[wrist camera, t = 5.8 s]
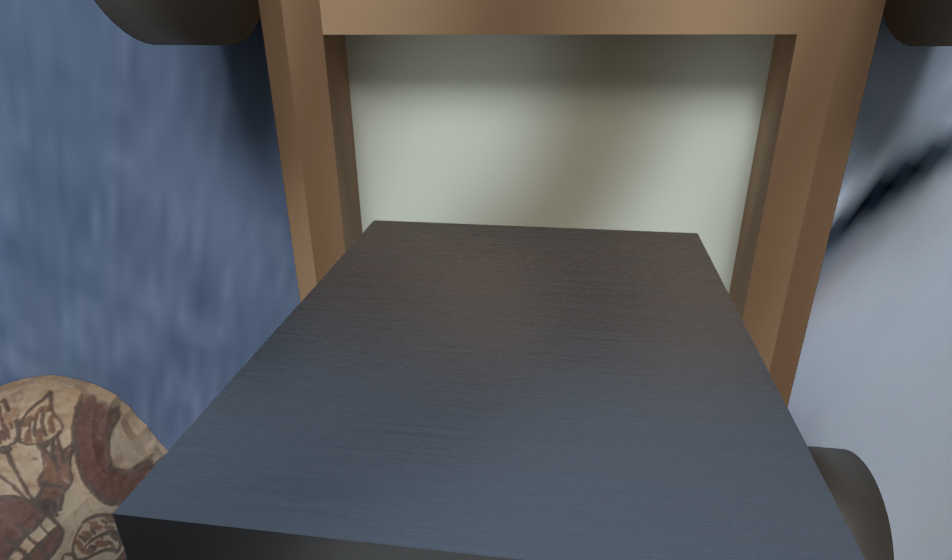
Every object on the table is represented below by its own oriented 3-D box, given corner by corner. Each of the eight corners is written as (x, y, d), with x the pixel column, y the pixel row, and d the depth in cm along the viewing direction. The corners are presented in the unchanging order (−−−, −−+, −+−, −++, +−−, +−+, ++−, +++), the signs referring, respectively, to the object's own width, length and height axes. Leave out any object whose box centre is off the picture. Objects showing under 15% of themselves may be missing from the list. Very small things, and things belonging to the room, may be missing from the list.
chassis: (1032, -283, 11) (1299, -445, 7) (795, 553, 19) (853, 699, 15) (171, -230, 13) (-7, -329, 9) (294, 501, 21) (231, 617, 17)
